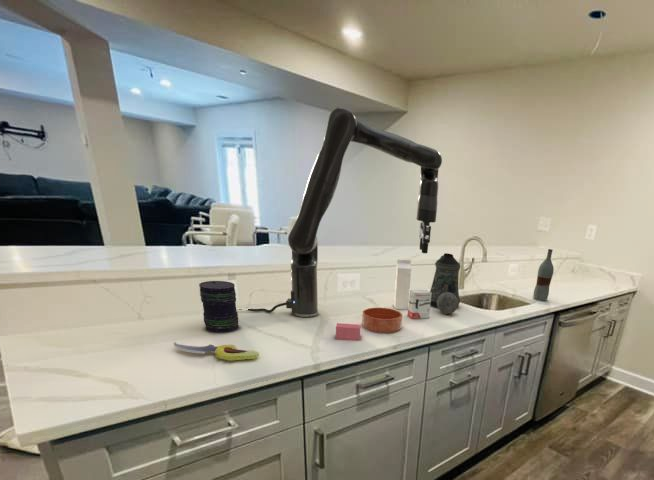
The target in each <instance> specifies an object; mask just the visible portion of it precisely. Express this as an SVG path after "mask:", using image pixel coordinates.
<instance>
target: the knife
mask: <svg viewBox="0 0 654 480" xmlns="http://www.w3.org/2000/svg"><path fill="white" fill-rule="evenodd" d="M172 344H173V346H174V347H175V348H176V349H177V350H179V351H183V352H186V353H192V354H203V355H206V353H209V352H213V353H214V356H215V357H216V358H217V359H219V360H225V361H242V360H254V359H255V360H256V359H257V358H259V357H260V352H258V351H256V350H254V349H250V350H243V349H238V348H237V346H236V345H235V344H223V345H219V346H215V345H213V344H208V345H204V346H203V345H202V346H197V345H196V346H195V345H186V344H179V343H176V342H173V343H172Z"/></svg>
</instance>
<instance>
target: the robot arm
mask: <svg viewBox="0 0 654 480" xmlns="http://www.w3.org/2000/svg"><path fill="white" fill-rule="evenodd" d="M351 142H353V143H357V144H361V145H364V146H367V147H370V148H373V149H375V150H378V151H380V152H382V153H384V154H386V155H389V156H390V157H393V158H395V159H398V160H400V161H403V162H407V163H409V164H411V163H412V164H415V165H416V166H419V167H420V181H419V189H418V190H419V191H418V198H417V206H416V218H415V219H416V220H417V221H419V222H420V223H419V250H420V251H421V253H422V254H428V251H429V244H430V242H431V231H432V226H431V224H430V223H433V224H434V223H436V221H437V212H438V194H439V181H438V180H439V179H438V178H439V169H440V167H442V164H443V157H442V154H441V153H440V152H439V151H438V150H436V149H435V148H432V147H430V146H427V145H423V144H421V143H416V141H415V142H414V141H413V140H410V139H408V138H406V137H403V136H401V135H399V134H396V133H392V132H389V131H385V130H382V129H379V128H377V127H374V126H371V125H369V124H367V123H365V122H363V121H362V120H360V119H359V118H357V117H356V115H355V114H354V113H353V112H352V110H350V109H349V108H347V107H344V106H338V107H336V108H334V109H333V110H331V111H330V114H329V116H328V121H327V125H326V130H325V134H324V137H323V141H322V145H321V148H320V150H319V152H318V154H317V156H316V159H315V162H314V164H313V165H312V168H311V171H310V174H309V177H308V180H307V183H306V187H305V190H304V193H303V197H302V200H301V205H300V209H299V211H298V212H299V213H298V215H297V217H296V220H295V221H294V224H293V226H292V228H291V230H290V232H289V234H288V237H287V241H288V246H289V248H290V249H291V259H290V276H291V277H290V278H291V290H290V298H287V299H286V301H285V302H282V303H278V304H276V305H274V306H273V307H272V308H270V309H267V308H251V309H248V310H246V311H247V312H265V313H269V314H270V313H273V312H274V311H275V310H276V309H277V308H280V307H284V306H285V308H286V309H291V316H295V317H299V318H313V317H317V316H318V315H319V309H318V308H319V305H318V259H319V257H318V254H319V253H318V252H319V251H318V250H319V249H318V248H319V246H318V244H319V243H318V237H317V234H318V231H319V226H320V224H321V221H322V219H323V217H324V216H325V214H326V212H327V210H328V209H329V206H330V205H331V203H332V201H333V198H334V196H335V192H336V190H337V187H338V185H339V180H340V176H341V172H342V167H343V160H344V157H345V154H346V152H347V150H348V147H349V145H350V143H351ZM240 310H241V311H243V310H242V309H239V310H238V311H240Z"/></svg>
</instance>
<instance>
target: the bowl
mask: <svg viewBox="0 0 654 480" xmlns="http://www.w3.org/2000/svg"><path fill="white" fill-rule="evenodd" d="M361 316H362V320H361V325H362V327H363V328H364V329H365V330H367V331H370V332H373V333H377V334H378V333H380V334H392V333H396V332H399V331H400V330H401V329H402V326H403V313H402V312H401V311H399V310H398V309H393V308H387V307H368V308H366V309H364V310H362V315H361Z"/></svg>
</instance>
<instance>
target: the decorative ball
mask: <svg viewBox="0 0 654 480" xmlns="http://www.w3.org/2000/svg"><path fill="white" fill-rule="evenodd" d="M437 307H438V308H437V309H438V310H439V312H441V313H442V314H444V315H451V314H453V313H454V312H456V311H457V310H458V308H459V306H458V299H457V297H456V296H455V295H454V294H452V293H449V292H446V293H443V294H441V295H440V296H439V297H438V299H437ZM457 307H458V308H457Z"/></svg>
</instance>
